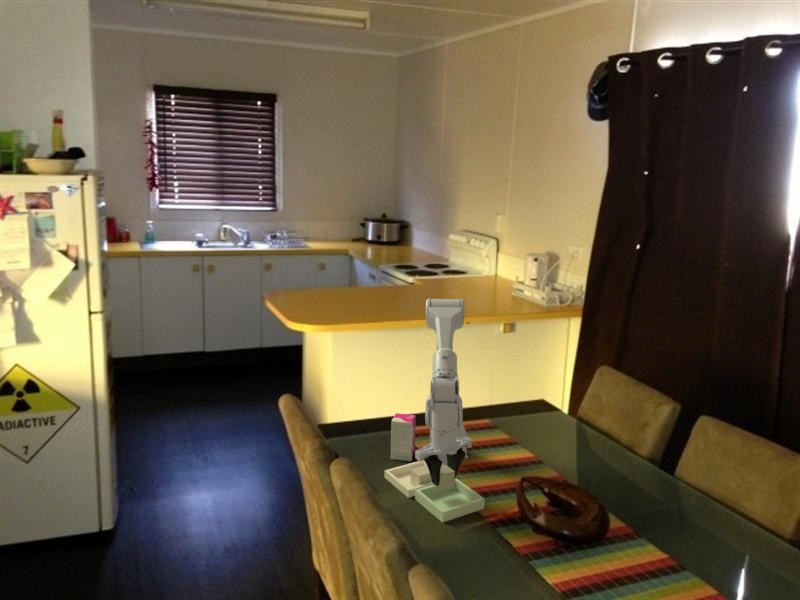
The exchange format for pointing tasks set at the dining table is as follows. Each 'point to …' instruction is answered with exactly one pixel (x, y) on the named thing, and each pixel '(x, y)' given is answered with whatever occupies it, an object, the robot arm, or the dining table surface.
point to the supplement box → (403, 437)
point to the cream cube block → (445, 478)
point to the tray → (405, 478)
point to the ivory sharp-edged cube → (420, 476)
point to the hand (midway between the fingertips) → (443, 481)
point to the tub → (450, 501)
